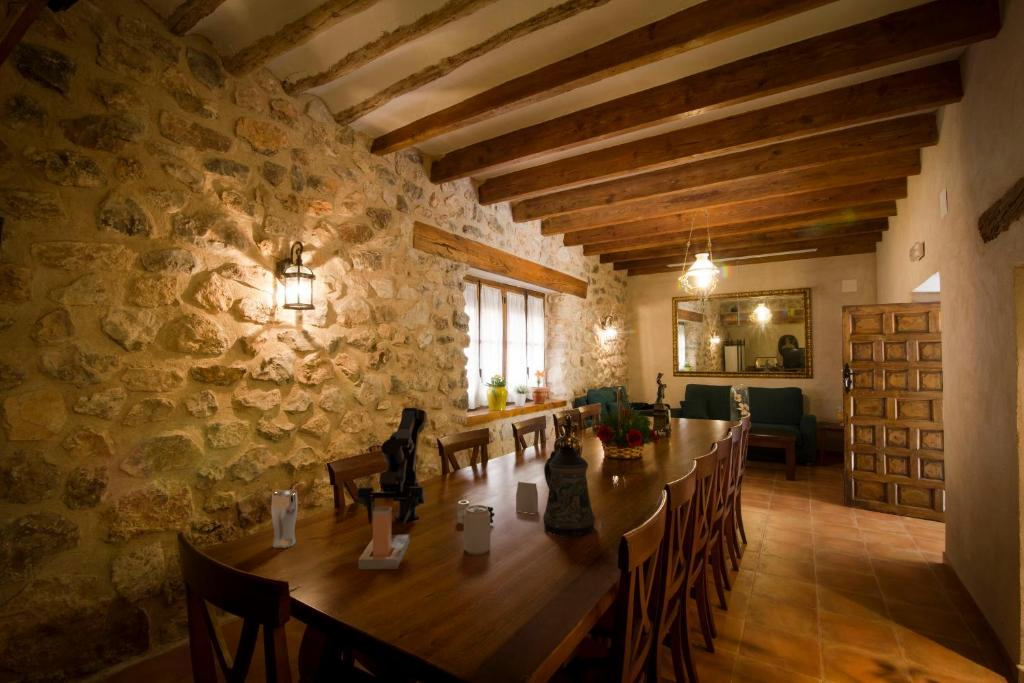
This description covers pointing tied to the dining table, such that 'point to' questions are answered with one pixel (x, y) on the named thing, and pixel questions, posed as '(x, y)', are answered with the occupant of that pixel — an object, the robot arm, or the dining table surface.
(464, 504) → the valve
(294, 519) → the beer glass
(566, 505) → the beer stein
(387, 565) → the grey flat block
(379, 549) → the square peg
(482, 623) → the dining table surface
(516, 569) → the dining table surface
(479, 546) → the can
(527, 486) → the tea bag
